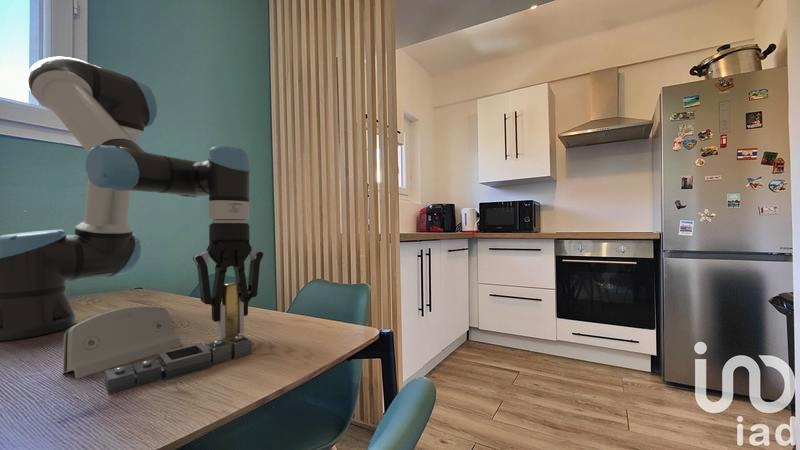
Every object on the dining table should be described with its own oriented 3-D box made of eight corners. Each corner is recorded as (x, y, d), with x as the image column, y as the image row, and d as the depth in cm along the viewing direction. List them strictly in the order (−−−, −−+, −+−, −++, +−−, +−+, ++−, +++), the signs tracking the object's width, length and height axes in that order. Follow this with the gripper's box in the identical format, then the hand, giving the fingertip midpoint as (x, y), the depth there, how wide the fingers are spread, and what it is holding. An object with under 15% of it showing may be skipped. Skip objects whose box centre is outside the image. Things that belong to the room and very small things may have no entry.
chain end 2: (158, 367, 56) (157, 349, 56) (240, 346, 66) (240, 330, 66) (166, 380, 52) (166, 359, 52) (253, 355, 62) (253, 338, 62)
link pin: (219, 341, 69) (219, 284, 69) (235, 337, 71) (235, 282, 71) (225, 345, 67) (224, 286, 67) (241, 341, 69) (241, 284, 69)
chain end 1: (104, 381, 52) (104, 364, 52) (200, 357, 61) (200, 342, 61) (108, 396, 47) (108, 378, 47) (211, 367, 56) (211, 352, 56)
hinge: (73, 379, 52) (64, 317, 54) (62, 383, 54) (53, 323, 56) (183, 345, 67) (173, 297, 69) (171, 349, 69) (161, 302, 71)
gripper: (190, 221, 61) (191, 349, 61) (274, 222, 72) (275, 329, 72) (180, 222, 66) (181, 339, 66) (260, 222, 77) (261, 322, 77)
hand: (230, 333), depth 69 cm, fingers closed on link pin, 3 cm apart
